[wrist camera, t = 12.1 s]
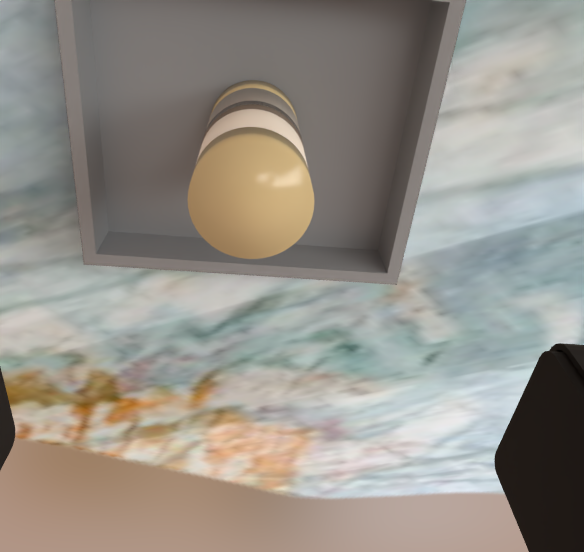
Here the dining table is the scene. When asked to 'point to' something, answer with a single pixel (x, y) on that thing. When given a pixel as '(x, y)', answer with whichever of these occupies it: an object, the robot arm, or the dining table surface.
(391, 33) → the tray
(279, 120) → the fuse
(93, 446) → the dining table surface
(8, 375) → the dining table surface
